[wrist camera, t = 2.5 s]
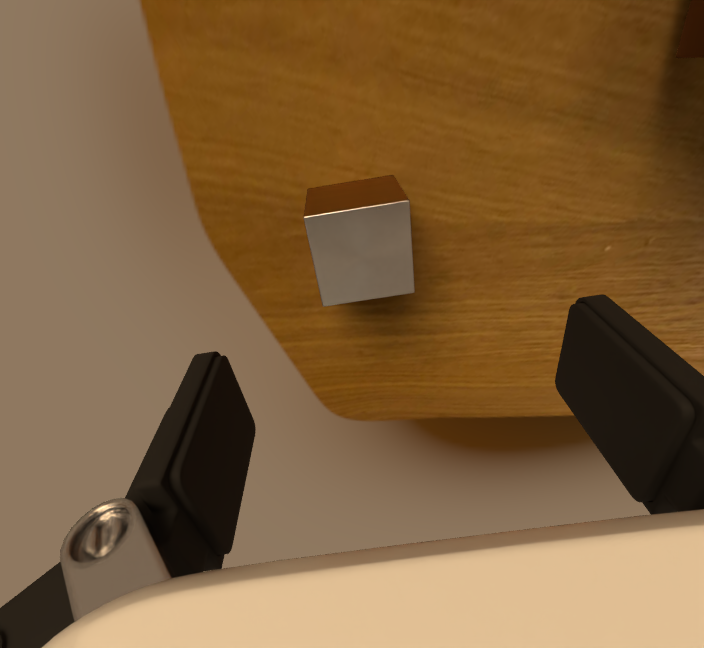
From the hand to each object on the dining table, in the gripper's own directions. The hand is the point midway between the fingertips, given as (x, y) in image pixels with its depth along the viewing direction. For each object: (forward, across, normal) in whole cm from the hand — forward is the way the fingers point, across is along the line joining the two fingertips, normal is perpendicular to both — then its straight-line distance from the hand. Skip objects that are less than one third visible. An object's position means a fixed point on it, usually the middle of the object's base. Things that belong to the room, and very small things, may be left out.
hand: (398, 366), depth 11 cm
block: (+12, 0, 0) cm, 12 cm away
